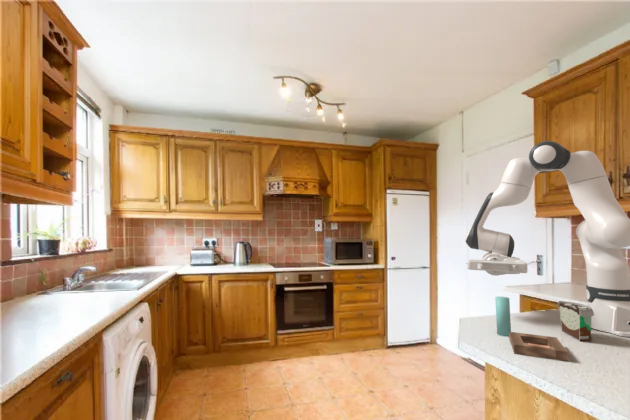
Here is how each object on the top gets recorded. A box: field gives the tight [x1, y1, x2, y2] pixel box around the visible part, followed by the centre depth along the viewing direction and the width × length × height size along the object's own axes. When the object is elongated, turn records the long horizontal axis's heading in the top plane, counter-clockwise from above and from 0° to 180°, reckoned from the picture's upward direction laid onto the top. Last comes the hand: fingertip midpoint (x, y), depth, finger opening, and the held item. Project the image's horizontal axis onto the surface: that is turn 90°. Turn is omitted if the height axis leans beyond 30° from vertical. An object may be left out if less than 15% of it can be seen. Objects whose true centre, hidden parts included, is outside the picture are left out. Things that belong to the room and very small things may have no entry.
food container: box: [557, 300, 594, 342], centre depth 98 cm, size 12×6×10 cm, turn 168°
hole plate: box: [508, 331, 569, 362], centre depth 88 cm, size 12×12×3 cm
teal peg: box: [494, 296, 512, 337], centre depth 101 cm, size 4×4×12 cm
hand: (497, 268), depth 113 cm, fingers open, 8 cm apart
